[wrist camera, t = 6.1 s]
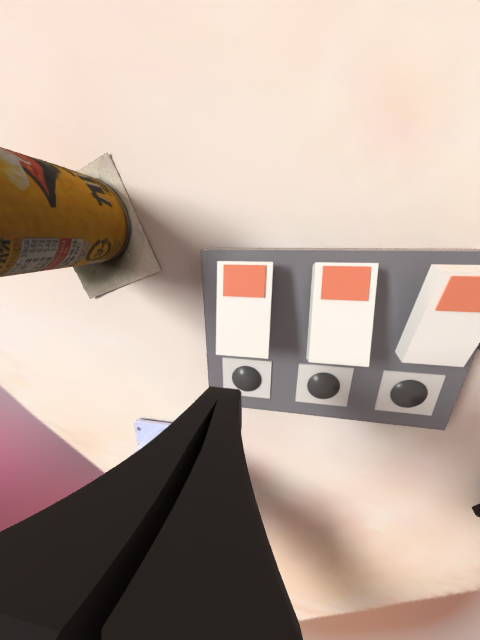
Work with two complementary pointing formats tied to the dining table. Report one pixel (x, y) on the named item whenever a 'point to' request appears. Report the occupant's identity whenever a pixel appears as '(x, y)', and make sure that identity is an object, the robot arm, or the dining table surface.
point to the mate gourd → (476, 510)
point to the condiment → (70, 223)
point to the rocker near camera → (444, 318)
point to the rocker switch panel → (331, 379)
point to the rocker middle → (341, 313)
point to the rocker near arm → (243, 308)
